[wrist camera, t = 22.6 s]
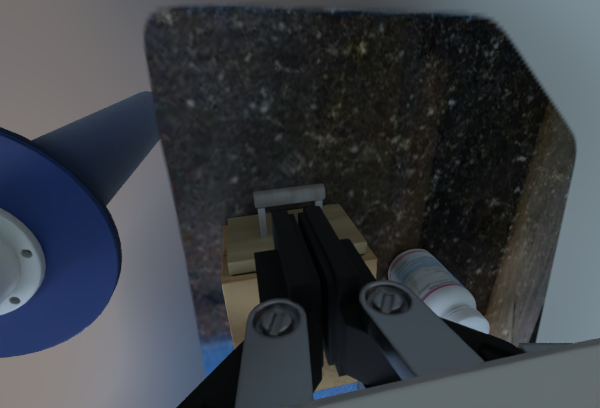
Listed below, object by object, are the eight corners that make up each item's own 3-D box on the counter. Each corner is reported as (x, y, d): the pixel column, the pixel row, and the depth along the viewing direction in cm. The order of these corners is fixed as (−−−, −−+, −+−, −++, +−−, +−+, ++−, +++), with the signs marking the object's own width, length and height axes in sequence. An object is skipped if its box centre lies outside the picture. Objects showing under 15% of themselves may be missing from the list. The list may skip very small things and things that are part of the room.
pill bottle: (426, 284, 43) (487, 356, 33) (382, 289, 42) (431, 364, 31) (436, 244, 40) (505, 308, 30) (390, 247, 39) (446, 314, 29)
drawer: (221, 178, 31) (218, 215, 24) (338, 164, 32) (368, 195, 25) (244, 321, 38) (248, 381, 31) (339, 303, 40) (362, 357, 33)
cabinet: (223, 225, 34) (221, 284, 25) (341, 209, 36) (377, 258, 27) (242, 331, 40) (245, 407, 31) (342, 312, 42) (370, 379, 33)
